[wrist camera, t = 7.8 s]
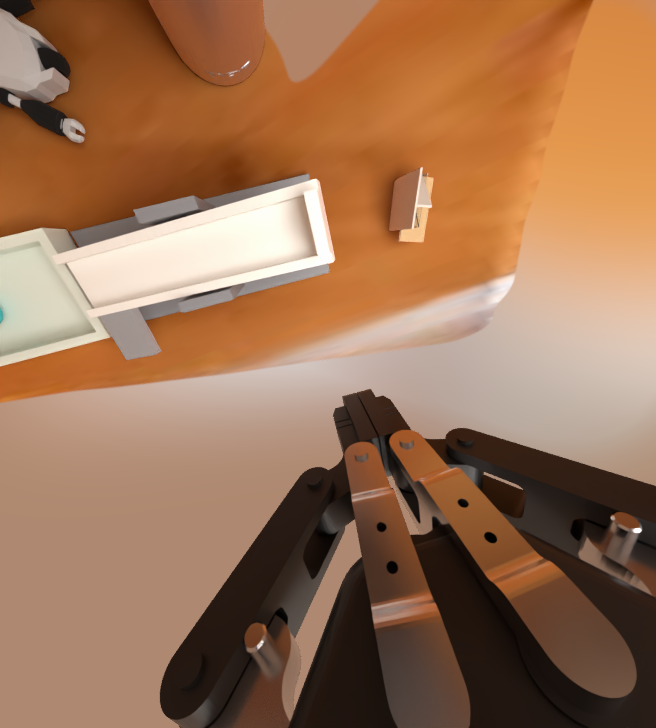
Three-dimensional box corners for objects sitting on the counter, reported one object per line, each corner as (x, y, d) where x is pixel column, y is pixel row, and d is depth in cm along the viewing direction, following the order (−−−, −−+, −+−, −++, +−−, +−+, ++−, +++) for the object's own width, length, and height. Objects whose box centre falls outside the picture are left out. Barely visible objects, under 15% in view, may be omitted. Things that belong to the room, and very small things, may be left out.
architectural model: (419, 181, 34) (452, 167, 28) (410, 241, 37) (438, 242, 30) (393, 179, 34) (421, 165, 27) (386, 240, 37) (409, 241, 30)
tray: (-120, 274, 29) (-167, 278, 26) (66, 229, 30) (41, 227, 27) (-32, 369, 35) (-63, 382, 32) (125, 328, 36) (109, 337, 32)
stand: (76, 232, 31) (-15, 228, 21) (307, 175, 32) (319, 148, 22) (129, 323, 35) (73, 353, 26) (328, 271, 37) (345, 282, 27)
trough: (88, 251, 29) (34, 257, 24) (322, 184, 24) (313, 175, 20) (144, 349, 34) (109, 370, 29) (347, 309, 30) (345, 327, 25)
